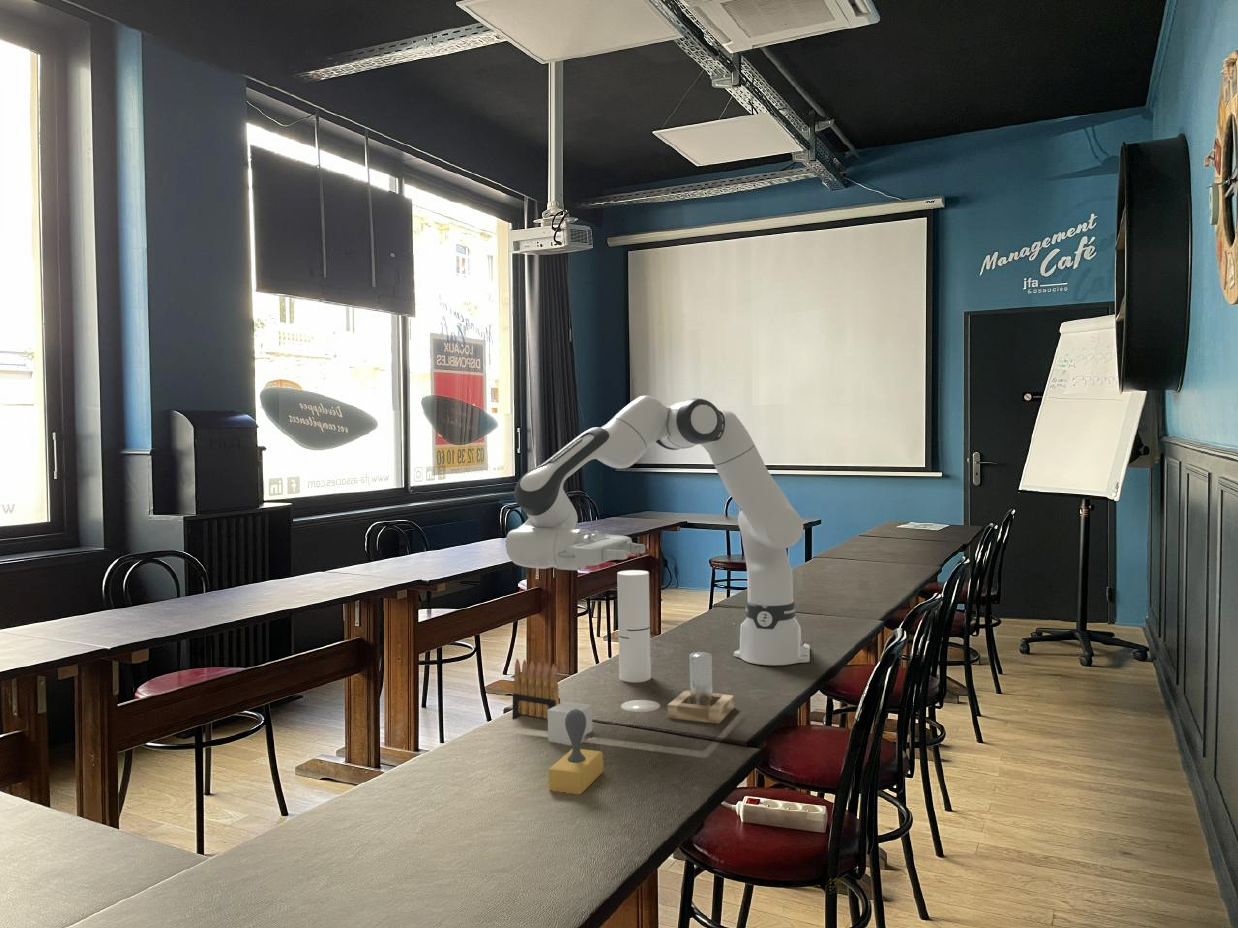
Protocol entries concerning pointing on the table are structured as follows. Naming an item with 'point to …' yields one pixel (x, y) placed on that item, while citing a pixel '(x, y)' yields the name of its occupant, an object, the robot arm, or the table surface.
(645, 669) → the cylindrical container
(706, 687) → the clear glass tube
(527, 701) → the ammunition clip
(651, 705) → the stand disc
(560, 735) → the light grey cube
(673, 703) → the beige wooden square frame
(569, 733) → the rubber stamp
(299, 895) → the table surface
